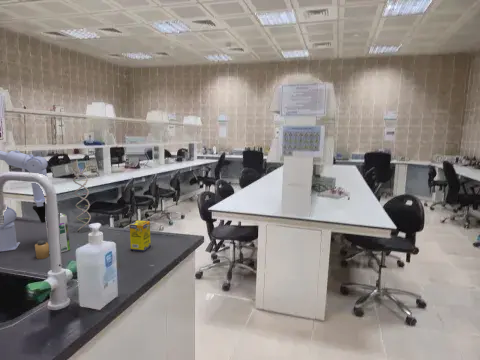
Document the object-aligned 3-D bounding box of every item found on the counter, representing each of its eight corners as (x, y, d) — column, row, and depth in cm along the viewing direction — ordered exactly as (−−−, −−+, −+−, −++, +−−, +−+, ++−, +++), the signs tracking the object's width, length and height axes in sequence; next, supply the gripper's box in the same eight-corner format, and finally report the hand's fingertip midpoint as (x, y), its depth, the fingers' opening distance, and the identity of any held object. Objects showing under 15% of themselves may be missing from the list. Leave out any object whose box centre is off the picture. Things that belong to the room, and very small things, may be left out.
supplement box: (144, 252, 123) (142, 225, 121) (130, 250, 124) (128, 224, 122) (151, 246, 129) (150, 220, 127) (138, 245, 130) (136, 219, 128)
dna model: (75, 233, 143) (69, 168, 138) (78, 229, 149) (73, 166, 144) (91, 232, 145) (86, 168, 139) (93, 228, 151) (89, 166, 146)
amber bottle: (35, 259, 116) (33, 244, 114) (37, 255, 119) (35, 240, 118) (48, 257, 117) (47, 242, 116) (50, 253, 121) (49, 238, 120)
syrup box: (55, 254, 120) (51, 218, 117) (48, 251, 123) (44, 215, 121) (70, 250, 124) (67, 215, 122) (63, 246, 128) (60, 212, 125)
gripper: (49, 189, 120) (54, 222, 122) (54, 182, 133) (59, 213, 135) (27, 191, 117) (33, 226, 120) (35, 184, 130) (40, 216, 133)
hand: (46, 219), depth 127 cm, fingers open, 7 cm apart
